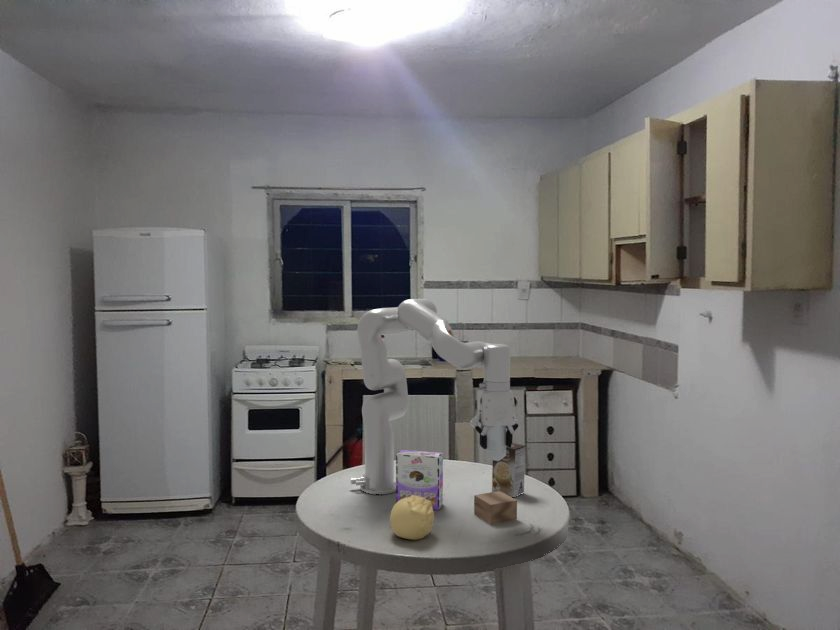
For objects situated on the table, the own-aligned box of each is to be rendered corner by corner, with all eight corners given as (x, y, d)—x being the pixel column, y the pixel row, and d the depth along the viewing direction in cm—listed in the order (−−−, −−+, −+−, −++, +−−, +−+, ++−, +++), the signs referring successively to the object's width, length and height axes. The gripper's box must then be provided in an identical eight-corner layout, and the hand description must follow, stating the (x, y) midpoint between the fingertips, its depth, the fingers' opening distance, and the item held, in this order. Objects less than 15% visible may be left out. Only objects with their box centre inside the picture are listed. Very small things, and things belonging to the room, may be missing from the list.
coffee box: (490, 491, 214) (491, 443, 213) (502, 487, 218) (502, 440, 217) (514, 498, 207) (514, 448, 206) (525, 493, 212) (526, 445, 211)
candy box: (443, 504, 202) (443, 451, 201) (439, 510, 196) (439, 457, 195) (401, 499, 206) (401, 448, 205) (395, 506, 200) (395, 453, 199)
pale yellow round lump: (430, 545, 171) (430, 505, 170) (385, 542, 173) (386, 502, 172) (437, 529, 182) (437, 491, 182) (395, 525, 184) (395, 488, 184)
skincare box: (492, 454, 194) (493, 414, 193) (506, 456, 192) (506, 416, 191) (485, 459, 189) (485, 418, 188) (498, 461, 187) (499, 420, 186)
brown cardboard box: (490, 525, 185) (490, 504, 185) (474, 515, 193) (474, 495, 193) (516, 520, 189) (517, 500, 189) (499, 510, 197) (499, 490, 197)
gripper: (472, 390, 183) (472, 452, 184) (529, 387, 188) (528, 448, 189) (464, 385, 190) (463, 445, 192) (519, 383, 195) (518, 442, 196)
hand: (495, 446), depth 190 cm, fingers closed on skincare box, 7 cm apart
